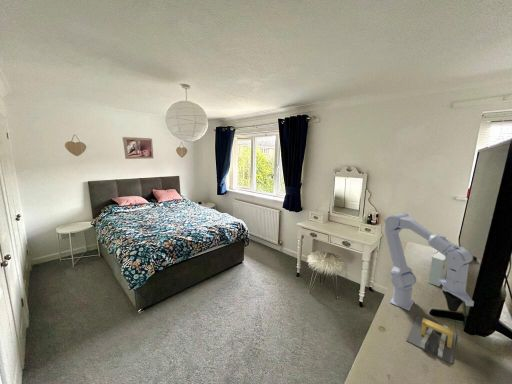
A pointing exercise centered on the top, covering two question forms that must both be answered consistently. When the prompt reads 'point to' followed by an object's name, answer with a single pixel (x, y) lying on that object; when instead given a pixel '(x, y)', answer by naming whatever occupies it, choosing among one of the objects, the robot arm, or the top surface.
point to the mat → (416, 340)
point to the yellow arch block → (438, 328)
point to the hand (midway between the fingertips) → (452, 310)
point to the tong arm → (426, 339)
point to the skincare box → (438, 269)
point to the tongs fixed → (440, 348)
